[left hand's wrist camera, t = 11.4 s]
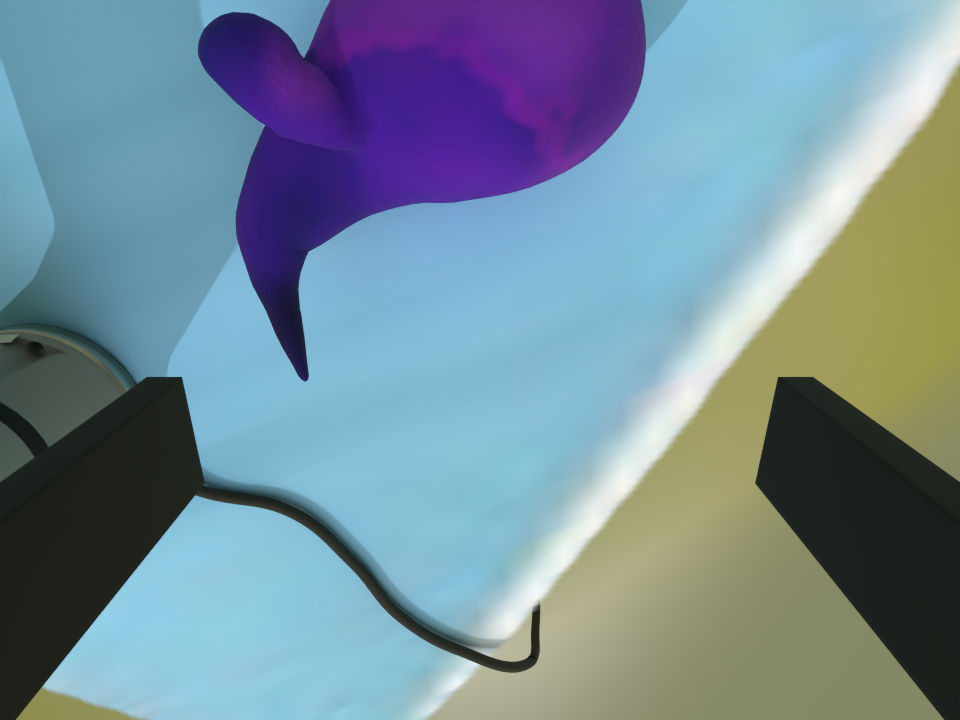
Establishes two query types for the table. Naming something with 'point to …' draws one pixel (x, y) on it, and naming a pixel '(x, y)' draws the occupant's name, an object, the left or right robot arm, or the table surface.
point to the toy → (411, 115)
